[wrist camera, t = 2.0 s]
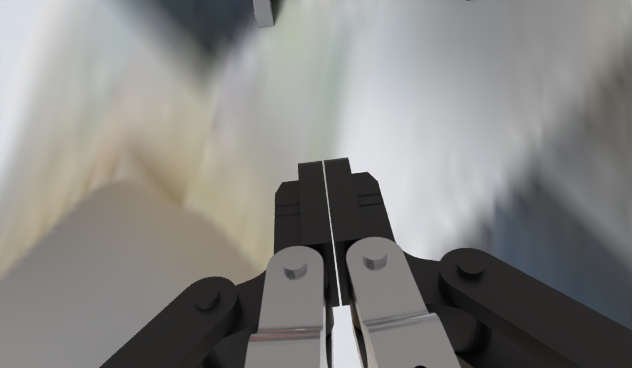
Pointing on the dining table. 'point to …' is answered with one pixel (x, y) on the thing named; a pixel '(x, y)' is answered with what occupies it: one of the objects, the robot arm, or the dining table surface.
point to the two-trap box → (264, 13)
